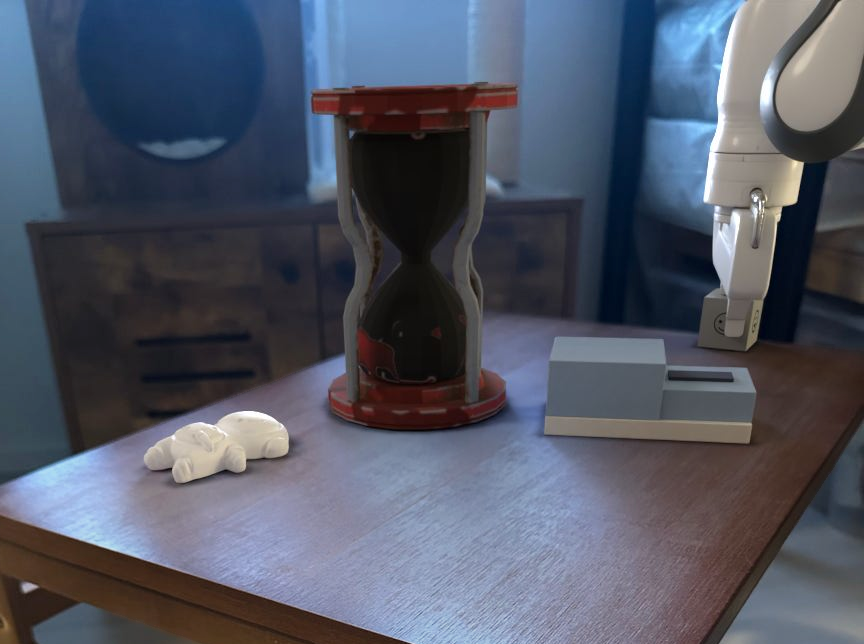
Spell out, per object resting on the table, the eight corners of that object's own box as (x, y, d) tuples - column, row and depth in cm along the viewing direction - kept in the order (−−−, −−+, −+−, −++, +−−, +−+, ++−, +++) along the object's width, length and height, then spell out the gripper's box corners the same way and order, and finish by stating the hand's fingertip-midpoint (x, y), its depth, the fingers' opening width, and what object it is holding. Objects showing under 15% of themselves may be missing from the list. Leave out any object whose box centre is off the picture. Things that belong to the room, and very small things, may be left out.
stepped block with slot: (738, 411, 81) (750, 340, 78) (749, 443, 74) (762, 367, 71) (551, 404, 84) (555, 335, 81) (544, 434, 77) (548, 361, 74)
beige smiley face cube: (697, 346, 100) (704, 297, 97) (709, 335, 104) (716, 288, 101) (745, 351, 98) (754, 301, 95) (756, 340, 101) (764, 292, 99)
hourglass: (294, 402, 87) (270, 89, 74) (426, 369, 95) (425, 82, 83) (406, 445, 76) (400, 86, 63) (543, 403, 84) (563, 80, 72)
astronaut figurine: (128, 461, 75) (121, 424, 73) (254, 426, 81) (250, 392, 80) (185, 491, 69) (179, 451, 67) (315, 451, 75) (313, 414, 74)
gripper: (802, 195, 83) (773, 353, 91) (773, 173, 101) (750, 307, 108) (727, 196, 85) (705, 351, 92) (711, 174, 102) (693, 306, 109)
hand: (729, 327), depth 100 cm, fingers closed on beige smiley face cube, 5 cm apart
